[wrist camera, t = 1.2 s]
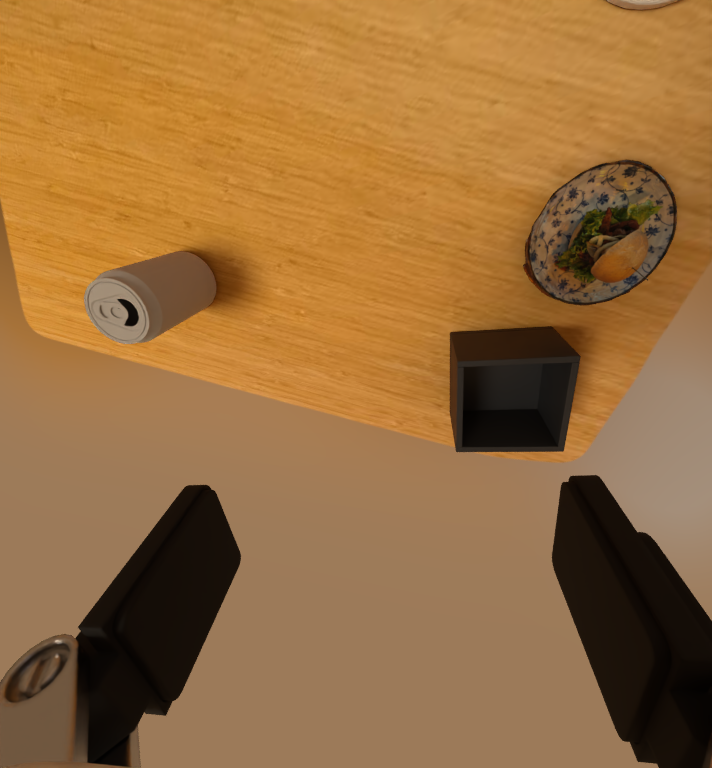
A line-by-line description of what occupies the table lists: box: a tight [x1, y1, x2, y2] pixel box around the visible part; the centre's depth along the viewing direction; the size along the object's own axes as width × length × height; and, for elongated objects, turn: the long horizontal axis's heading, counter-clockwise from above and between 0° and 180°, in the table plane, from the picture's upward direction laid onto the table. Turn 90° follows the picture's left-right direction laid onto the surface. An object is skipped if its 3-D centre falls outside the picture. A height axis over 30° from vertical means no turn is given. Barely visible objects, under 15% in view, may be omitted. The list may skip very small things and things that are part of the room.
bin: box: [450, 327, 581, 452], centre depth 38 cm, size 10×10×8 cm
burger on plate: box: [523, 160, 677, 305], centre depth 31 cm, size 12×12×8 cm
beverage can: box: [84, 251, 216, 344], centre depth 36 cm, size 6×6×12 cm
